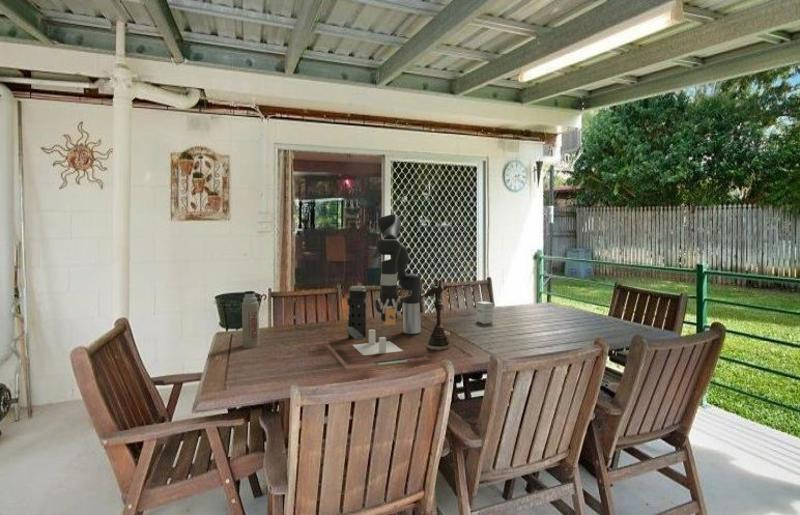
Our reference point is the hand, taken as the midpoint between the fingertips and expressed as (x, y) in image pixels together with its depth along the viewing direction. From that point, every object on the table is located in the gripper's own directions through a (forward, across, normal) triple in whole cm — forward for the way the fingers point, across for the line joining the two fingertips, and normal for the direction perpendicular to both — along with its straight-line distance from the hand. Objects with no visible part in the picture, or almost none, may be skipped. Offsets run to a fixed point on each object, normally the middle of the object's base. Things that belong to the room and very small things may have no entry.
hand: (388, 320), depth 209 cm
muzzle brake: (+19, +2, -45) cm, 49 cm away
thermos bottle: (+19, +57, -49) cm, 77 cm away
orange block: (+1, 0, +1) cm, 2 cm away
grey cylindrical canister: (+19, -83, -52) cm, 100 cm away
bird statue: (+19, -30, -15) cm, 38 cm away
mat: (+19, 0, 0) cm, 19 cm away
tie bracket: (+19, 0, -17) cm, 25 cm away
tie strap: (+10, +11, -17) cm, 23 cm away
